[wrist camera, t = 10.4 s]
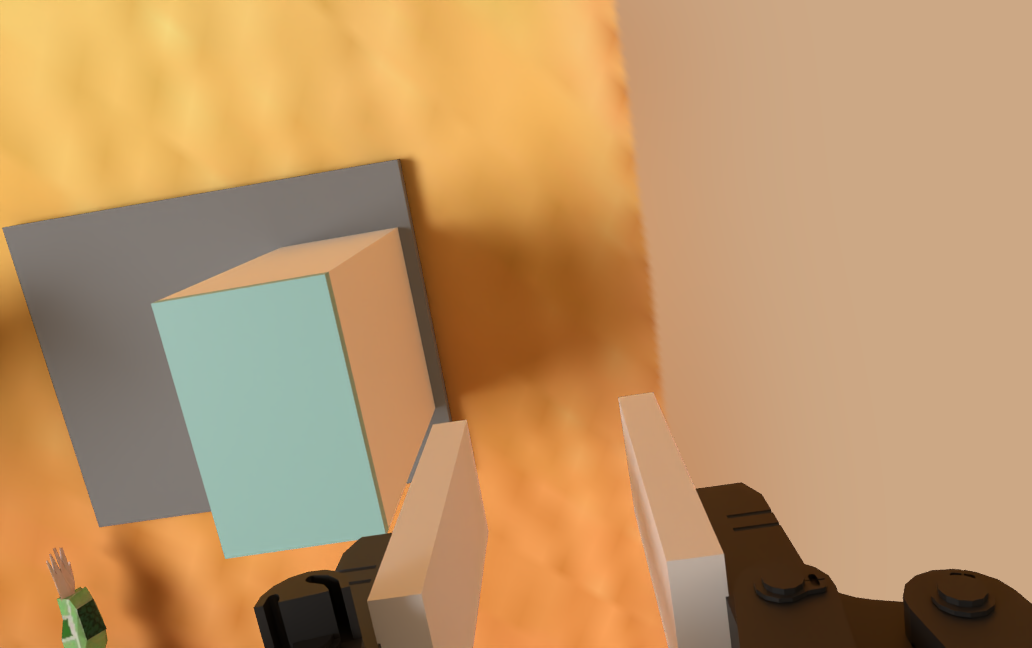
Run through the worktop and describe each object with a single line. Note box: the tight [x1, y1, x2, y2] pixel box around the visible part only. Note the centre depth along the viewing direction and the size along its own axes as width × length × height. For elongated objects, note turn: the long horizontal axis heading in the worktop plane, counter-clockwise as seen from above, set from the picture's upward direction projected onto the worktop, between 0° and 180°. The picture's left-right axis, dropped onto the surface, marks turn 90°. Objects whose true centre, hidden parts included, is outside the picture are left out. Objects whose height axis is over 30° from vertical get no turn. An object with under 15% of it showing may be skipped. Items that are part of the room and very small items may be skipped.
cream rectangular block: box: [151, 227, 435, 559], centre depth 27 cm, size 8×5×11 cm, turn 10°
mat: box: [2, 159, 452, 527], centre depth 33 cm, size 14×17×1 cm
